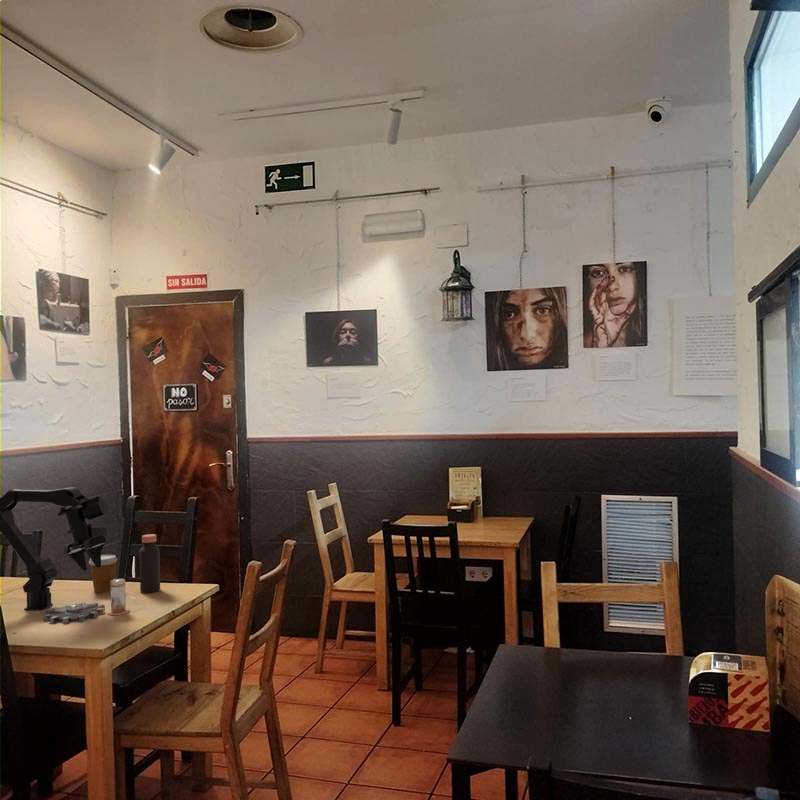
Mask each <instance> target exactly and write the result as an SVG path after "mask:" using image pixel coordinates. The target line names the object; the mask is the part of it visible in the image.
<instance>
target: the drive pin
mask: <svg viewBox="0 0 800 800" xmlns="http://www.w3.org/2000/svg"><path fill="white" fill-rule="evenodd" d="M110 582H111V583H110V586H111V591H110V610H111V613H122V612H125V611H126V579H125V578H116V579H115V578H114V580H111V581H110Z"/></svg>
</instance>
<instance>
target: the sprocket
mask: <svg viewBox="0 0 800 800" xmlns="http://www.w3.org/2000/svg"><path fill="white" fill-rule="evenodd" d="M105 607H106V606H105V604H99V603H98V602H92V603H87V602H86V601H85V602H77V603H68V604H65V606H62V607H58V606H55V607H51V610H46V611H45V612H44V613H43V621H44V622H47V621H46V620H48V621H49V623H50V624H55V623H58V622H62V624H69V623H70V622H75V621H76V622H77V621H78V622H85V621H86V619H95V618H98V617H99V615H104V614H105V613H106V612H105V611H106V609H105Z"/></svg>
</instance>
